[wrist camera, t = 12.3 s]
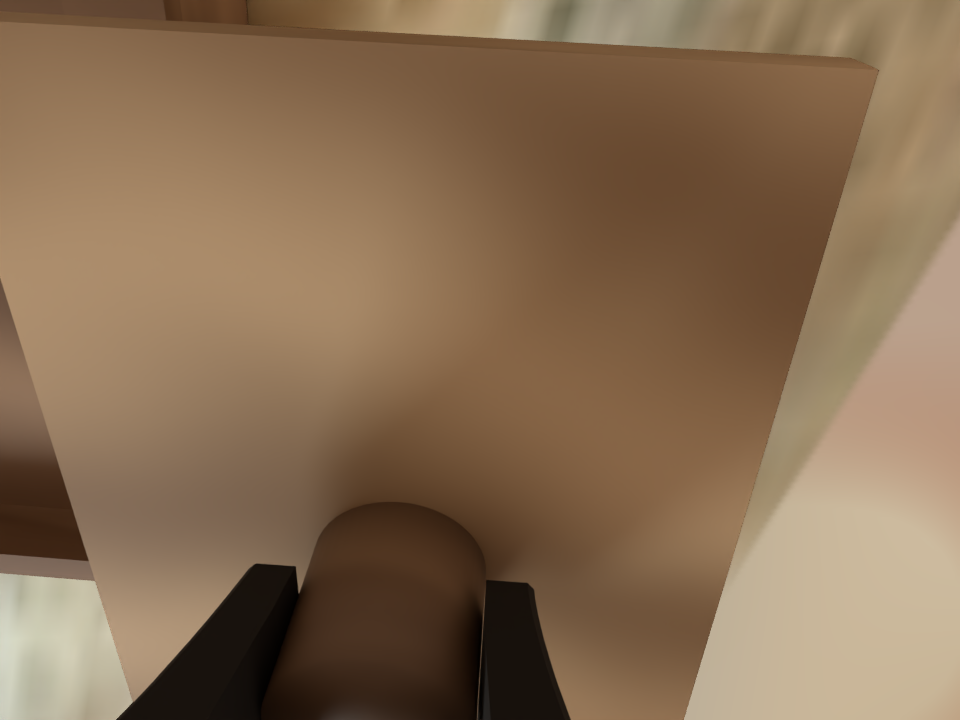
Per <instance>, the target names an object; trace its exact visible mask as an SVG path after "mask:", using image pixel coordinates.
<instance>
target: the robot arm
mask: <svg viewBox="0 0 960 720" xmlns="http://www.w3.org/2000/svg"><path fill="white" fill-rule="evenodd" d="M298 596H299V591H298V582H297V572H296V566H285V565H271V564H257V563H256V564H254V565H253V566H252V567H250V568H249V569H248V570H247V572H246V573H245V574H244V575H243V577H242V578H241V579H240V580H239V582H238V583H237V584H236V585H235V587H234V588H233V589H232V590H231V592H230V593H229V594H228V595H227V597H226V598H225V599H224V600H223V601H222V603H221V604H220V605H219V606H218V608H217V609H216V610H215V611H214V612H213V614H212V615H211V616H210V617H209V618H208V620H207V621H206V622H205V623H204V624H203V625H202V627H201V628H200V629H199V630H198V631H197V632H196V634H195V635H194V636H193V637H192V638H191V640H190V641H189V642H188V643H187V644H186V645H185V646H184V647H183V649H182V650H181V651H180V652H179V653H178V654H177V655H176V656H175V657H174V659H173V660H172V661H171V662H170V663H169V664H168V665H167V666H166V668H165V669H164V670H163V671H162V672H161V673H160V674H159V675H158V676H157V678H156V679H155V680H154V681H153V682H152V683H151V684H150V685H149V686H148V687H147V688H146V690H145V691H144V692H143V693H142V694H141V695H140V696H139V697H138V698H137V699H136V700H135V701H134V702H133V703H132V704H131V705H130V706H129V707H128V708H127V709H126V710H125V711H124V712H123V713H122V714H121V715H120V716H119V717H118V718H117V719H116V720H261V707H262V702H263V699H264V696H265V693H266V690H267V687H268V684H269V682H270V679H271V676H272V673H273V670H274V667H275V664H276V661H277V658H278V655H279V652H280V649H281V646H282V643H283V640H284V637H285V634H286V631H287V628H288V625H289V622H290V619H291V616H292V613H293V610H294V607H295V604H296V601H297V599H298ZM477 720H571V719H570V716H569V713H568V711H567V708H566V705H565V702H564V700H563V697H562V694H561V691H560V689H559V686H558V683H557V680H556V677H555V674H554V671H553V668H552V664H551V661H550V658H549V654H548V651H547V648H546V644H545V641H544V637H543V633H542V629H541V625H540V621H539V616H538V611H537V606H536V600H535V593H534V589H533V588H532V587H531V586H530V585H529V584H528V583H523V582H509V581H495V580H486V592H485V606H484V621H483V636H482V651H481V665H480V681H479V697H478V713H477Z"/></svg>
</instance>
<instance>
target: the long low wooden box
mask: <svg viewBox="0 0 960 720" xmlns="http://www.w3.org/2000/svg"><path fill="white" fill-rule="evenodd" d="M0 11H2V12H21V13H39V14H57V15H75V16H94V17H112V18H130V19H149V20H167V21H185V22H204V23H222V24H240V25H248V18H247V6H246V0H0ZM0 573H6V574H18V575H30V576H42V577H54V578H66V579H79V580H91V581H95V579H94V576H93V572H92V569H91V566H90V563H89V560H88V557H87V553H86V550H85V547H84V544H83V541H82V537H81V534H80V531H79V528H78V525H77V521H76V518H75V515H74V512H73V509H72V505H71V502H70V499H69V496H68V493H67V490H66V486H65V483H64V480H63V477H62V474H61V470H60V467H59V464H58V461H57V458H56V454H55V451H54V448H53V445H52V442H51V438H50V435H49V432H48V429H47V426H46V422H45V419H44V416H43V413H42V410H41V407H40V403H39V400H38V397H37V394H36V391H35V387H34V384H33V381H32V378H31V375H30V371H29V368H28V365H27V362H26V359H25V355H24V352H23V349H22V346H21V343H20V339H19V336H18V333H17V330H16V327H15V324H14V320H13V317H12V314H11V311H10V308H9V304H8V301H7V298H6V295H5V292H4V288H3V285H2V282H1V279H0Z"/></svg>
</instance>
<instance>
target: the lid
mask: <svg viewBox="0 0 960 720" xmlns="http://www.w3.org/2000/svg"><path fill="white" fill-rule="evenodd" d="M878 72H879V70H878V69H876V68H873V67H871V66H869V65H866V64H864V63H862V62H859V61H857V60H855V59H852V58H844V57H826V56H807V55H789V54H771V53H752V52H734V51H716V50H698V49H679V48H661V47H643V46H624V45H606V44H588V43H570V42H551V41H533V40H515V39H496V38H478V37H460V36H441V35H423V34H405V33H387V32H368V31H350V30H332V29H313V28H295V27H277V26H258V25H240V24H222V23H204V22H185V21H167V20H149V19H130V18H112V17H94V16H75V15H57V14H39V13H21V12H2V11H0V279H1V282H2V285H3V288H4V292H5V295H6V298H7V301H8V304H9V308H10V311H11V314H12V317H13V320H14V324H15V327H16V330H17V333H18V336H19V339H20V343H21V346H22V349H23V352H24V355H25V359H26V362H27V365H28V368H29V371H30V375H31V378H32V381H33V384H34V387H35V391H36V394H37V397H38V400H39V403H40V407H41V410H42V413H43V416H44V419H45V422H46V426H47V429H48V432H49V435H50V438H51V442H52V445H53V448H54V451H55V454H56V458H57V461H58V464H59V467H60V470H61V474H62V477H63V480H64V483H65V486H66V490H67V493H68V496H69V499H70V502H71V505H72V509H73V512H74V515H75V518H76V521H77V525H78V528H79V531H80V534H81V537H82V541H83V544H84V547H85V550H86V553H87V557H88V560H89V563H90V566H91V569H92V572H93V576H94V579H95V582H96V585H97V588H98V592H99V595H100V598H101V601H102V604H103V608H104V611H105V614H106V617H107V620H108V624H109V627H110V630H111V633H112V636H113V640H114V643H115V646H116V649H117V652H118V655H119V659H120V662H121V665H122V668H123V671H124V675H125V678H126V681H127V684H128V687H129V691H130V694H131V697H132V700H133V702H134V701H135V700H136V699H137V698H138V697H139V696H140V695H141V694H142V693H143V692H144V691H145V690H146V688H147V687H148V686H149V685H150V684H151V683H152V682H153V681H154V680H155V679H156V678H157V676H158V675H159V674H160V673H161V672H162V671H163V670H164V669H165V668H166V666H167V665H168V664H169V663H170V662H171V661H172V660H173V659H174V657H175V656H176V655H177V654H178V653H179V652H180V651H181V650H182V649H183V647H184V646H185V645H186V644H187V643H188V642H189V641H190V640H191V638H192V637H193V636H194V635H195V634H196V632H197V631H198V630H199V629H200V628H201V627H202V625H203V624H204V623H205V622H206V621H207V620H208V618H209V617H210V616H211V615H212V614H213V612H214V611H215V610H216V609H217V608H218V606H219V605H220V604H221V603H222V601H223V600H224V599H225V598H226V597H227V595H228V594H229V593H230V592H231V590H232V589H233V588H234V587H235V585H236V584H237V583H238V582H239V580H240V579H241V578H242V577H243V575H244V574H245V573H246V572H247V570H248V569H249V568H250V567H252V566H253V565H254V564H256V563H257V564H271V565H285V566H296V572H297V582H298V591H299V596H298V599H297V601H296V604H295V607H294V610H293V613H292V616H291V619H290V622H289V625H288V628H287V631H286V634H285V637H284V640H283V643H282V646H281V649H280V652H279V655H278V658H277V661H276V664H275V667H274V670H273V673H272V676H271V679H270V682H269V684H268V687H267V690H266V693H265V696H264V699H263V702H262V707H261V720H477V713H478V697H479V681H480V665H481V651H482V636H483V621H484V606H485V592H486V580H495V581H509V582H523V583H528V584H529V585H530V586H531V587H532V588H533V589H534V593H535V600H536V606H537V611H538V616H539V621H540V625H541V629H542V633H543V637H544V641H545V644H546V648H547V651H548V654H549V658H550V661H551V664H552V668H553V671H554V674H555V677H556V680H557V683H558V686H559V689H560V691H561V694H562V697H563V700H564V702H565V705H566V708H567V711H568V713H569V716H570V719H571V720H684V717H685V714H686V710H687V707H688V704H689V700H690V697H691V694H692V690H693V687H694V684H695V680H696V677H697V674H698V670H699V667H700V663H701V660H702V657H703V654H704V650H705V647H706V644H707V640H708V637H709V634H710V630H711V627H712V624H713V621H714V617H715V614H716V611H717V607H718V604H719V601H720V597H721V594H722V591H723V587H724V584H725V581H726V577H727V574H728V571H729V567H730V564H731V561H732V557H733V554H734V551H735V547H736V544H737V541H738V537H739V534H740V531H741V527H742V524H743V521H744V517H745V514H746V511H747V507H748V504H749V501H750V497H751V494H752V491H753V487H754V484H755V481H756V477H757V474H758V471H759V467H760V464H761V461H762V458H763V454H764V451H765V448H766V444H767V441H768V438H769V434H770V431H771V428H772V424H773V421H774V418H775V414H776V411H777V408H778V404H779V401H780V398H781V394H782V391H783V388H784V384H785V381H786V378H787V374H788V371H789V368H790V364H791V361H792V358H793V354H794V351H795V348H796V344H797V341H798V338H799V334H800V331H801V328H802V324H803V321H804V318H805V314H806V311H807V308H808V305H809V301H810V298H811V295H812V291H813V288H814V285H815V281H816V278H817V275H818V271H819V268H820V265H821V261H822V258H823V255H824V251H825V248H826V245H827V241H828V238H829V235H830V231H831V228H832V225H833V221H834V218H835V215H836V211H837V208H838V205H839V201H840V198H841V195H842V191H843V188H844V185H845V181H846V178H847V175H848V171H849V168H850V165H851V161H852V158H853V155H854V152H855V148H856V145H857V142H858V138H859V135H860V132H861V128H862V125H863V122H864V118H865V115H866V112H867V108H868V105H869V102H870V98H871V95H872V92H873V88H874V85H875V82H876V78H877V75H878Z"/></svg>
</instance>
